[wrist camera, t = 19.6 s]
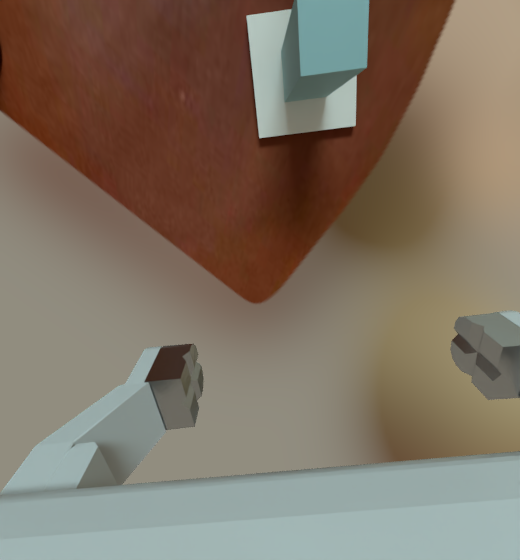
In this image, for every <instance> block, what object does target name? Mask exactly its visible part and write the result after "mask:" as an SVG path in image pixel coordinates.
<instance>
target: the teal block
mask: <svg viewBox="0 0 520 560" xmlns="http://www.w3.org/2000/svg"><path fill="white" fill-rule="evenodd" d="M368 15H369V0H294V3H293V7H292V10H291V14H290V18H289V22H288V26H287V30H286V34H285V38H284V42H283V46H282V50H281V57H282V71H283V86H284V101H285V102H291V101H299V100H307V99H314V98H322V97H327V96H328V95H330V94H331V93H332V92H334V91H335V90H337V89H338V88H339V87H341V86H342V85H344V84H345V83H346V82H348V81H349V80H350V79H352V78H353V77H355V76H356V75H357V74H359V73H360V72H361V71H363V70H364V69H366V68H367V47H368Z"/></svg>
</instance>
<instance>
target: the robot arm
mask: <svg viewBox="0 0 520 560" xmlns="http://www.w3.org/2000/svg"><path fill="white" fill-rule="evenodd" d="M454 329H455V330H456V332H457V333H458V335H457V336H456V337H455V338H454V339H453V340H452V343H451V354H452V358H453V360H454V362H455V364H456V365H457V366H458V368H459V369H460V370H461V371H462V372H464V373H467V374H469V375H471V376H472V383H473V384H474V385H475V386H476V387H477V388H478V390H479V391H480V392H481V393H482V394H483V395H484V396H485V397H486V398H487V399H488V400H490V399H491V400H492V399H508V398H520V313H518V312H516V311H503V312H495V313H491V314H482V315H473V316H464V317H459V318H458V319H457V321H456V322H455V327H454ZM197 357H198V352H197V348H196V346H195V345H194V344H185V345H172V346H163V347H162V346H161V347H150V348H147V349H145V350H144V351H143V353H142V355H141V357H140V358H139V360H138V362H137V364H136V366H135V367H134V369H133V371H132V373H131V374H130V376H129V378H128V380H127V382H126V384H125V385H119V386H118V387H117V388H115V389H114V390H113V391H111V392H110V393H108V394H107V395H106V396H104V397H103V398H101V399H100V400H98V401H97V402H96V403H94V404H93V405H92V406H90V407H89V408H87V409H86V410H85V411H83V412H82V413H80V414H79V415H78V416H76V417H75V418H74V419H72V420H71V421H69V422H68V423H67V424H65V425H64V426H63V427H61V428H60V429H58V430H57V431H55V432H54V433H53V434H51V435H50V436H48V437H47V438H46V439H44V440H43V441H42V442H40V443H39V444H37V445H36V446H35V447H34V449H33V450H32V451H31V453H30V454H29V455H28V457H27V458H26V460H25V461H24V462H23V464H22V465H21V466H20V467H19V469H18V470H17V472H16V473H15V474H14V476H13V477H12V478H11V480H10V481H9V482H8V484H7V485H6V486H5V488H4V489H3V490H2V492H1V493H0V560H520V451H517V452H505V453H493V454H481V455H469V456H458V457H446V458H434V459H423V460H411V461H399V462H387V463H375V464H363V465H351V466H340V467H327V468H317V469H304V470H292V471H280V472H268V473H257V474H245V475H234V476H221V477H209V478H197V479H186V480H174V481H162V482H150V483H138V484H127V485H122V484H123V483H124V481H125V480H126V479H127V478H128V477H129V476H130V474H131V473H132V472H133V471H134V470H135V468H136V467H137V466H138V465H139V464H140V462H141V461H142V460H143V459H144V457H145V456H146V455H147V454H148V453H149V452H150V450H151V449H152V448H153V447H154V446H155V444H156V443H157V442H158V441H159V440H160V438H161V437H162V436H163V435H164V434H165V432H166V430H170V429H178V428H186V427H194V426H195V423H196V419H197V414H198V410H199V406H198V402H197V400H198V399H199V398H200V397H201V396H202V391H203V371H202V367H201V365H200V364H199V363H197V362H196V361H197Z"/></svg>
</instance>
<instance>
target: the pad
mask: <svg viewBox="0 0 520 560" xmlns="http://www.w3.org/2000/svg"><path fill="white" fill-rule="evenodd" d="M291 10H292V9H290V10H283V11H276V12H269V13H262V14H255V15H248V16H247V26H248V35H249V45H250V55H251V64H252V74H253V83H254V93H255V103H256V112H257V122H258V132H259V138H266V137H274V136H282V135H289V134H297V133H305V132H313V131H321V130H329V129H337V128H345V127H353V126H356V78H357V75H356V76H355V77H353V78H352V79H350V80H349V81H348V82H346V83H345V84H344V85H342V86H341V87H339V88H338V89H337V90H335V91H334V92H332V93H331V94H330V95H328V96H327V97H322V98H314V99H307V100H299V101H291V102H285V101H284V86H283V71H282V57H281V50H282V46H283V42H284V38H285V34H286V30H287V26H288V22H289V18H290V14H291Z"/></svg>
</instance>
